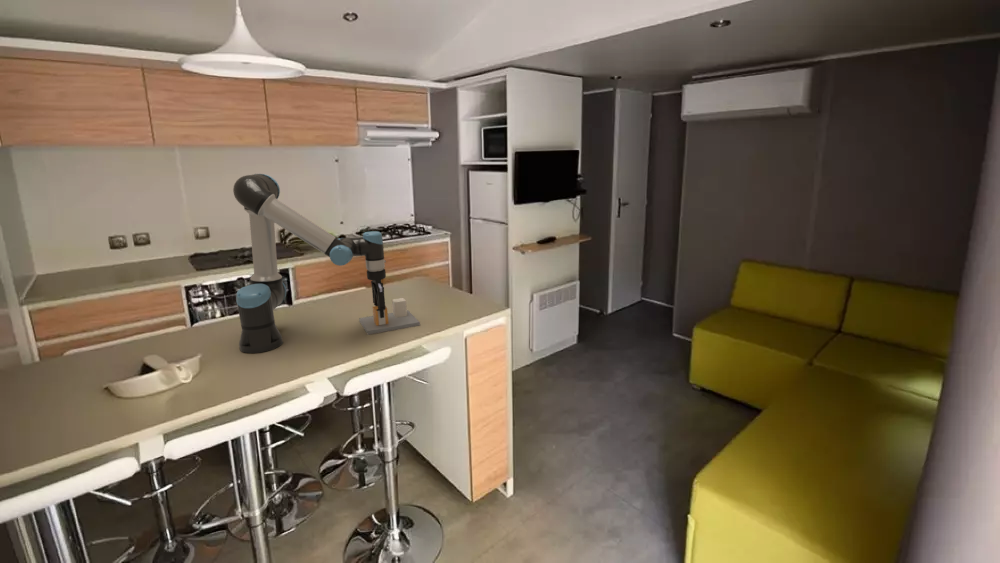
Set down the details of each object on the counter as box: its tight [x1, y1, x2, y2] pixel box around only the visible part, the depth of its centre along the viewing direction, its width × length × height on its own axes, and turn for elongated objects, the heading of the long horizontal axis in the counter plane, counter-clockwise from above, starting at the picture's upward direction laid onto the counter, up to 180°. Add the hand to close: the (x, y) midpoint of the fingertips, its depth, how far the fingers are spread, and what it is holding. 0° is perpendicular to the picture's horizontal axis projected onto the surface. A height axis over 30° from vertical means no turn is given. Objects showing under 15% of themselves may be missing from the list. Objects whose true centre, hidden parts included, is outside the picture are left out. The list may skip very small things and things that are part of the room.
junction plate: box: [358, 297, 421, 335], centre depth 208 cm, size 22×18×8 cm
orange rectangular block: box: [372, 305, 389, 326], centre depth 205 cm, size 5×5×7 cm
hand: (380, 322), depth 206 cm, fingers closed on orange rectangular block, 5 cm apart
